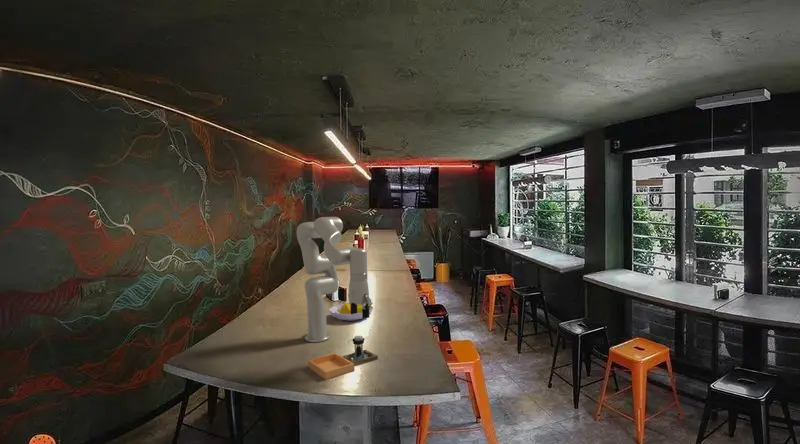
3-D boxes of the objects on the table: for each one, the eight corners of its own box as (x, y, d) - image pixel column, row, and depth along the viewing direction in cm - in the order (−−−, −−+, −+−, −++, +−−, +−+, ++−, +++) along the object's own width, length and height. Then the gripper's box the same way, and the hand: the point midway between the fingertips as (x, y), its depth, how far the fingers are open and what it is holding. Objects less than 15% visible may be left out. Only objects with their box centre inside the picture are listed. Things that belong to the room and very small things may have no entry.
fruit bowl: (321, 318, 238) (320, 299, 238) (357, 309, 256) (357, 292, 256) (346, 328, 217) (346, 308, 217) (384, 318, 235) (384, 299, 235)
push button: (366, 356, 176) (365, 334, 175) (369, 360, 171) (368, 337, 170) (351, 358, 174) (351, 335, 173) (354, 362, 168) (353, 339, 168)
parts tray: (308, 367, 164) (307, 360, 164) (335, 359, 172) (335, 352, 172) (325, 380, 152) (325, 372, 152) (354, 371, 160) (354, 363, 160)
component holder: (342, 359, 172) (342, 356, 172) (365, 352, 180) (365, 349, 180) (354, 366, 165) (354, 362, 164) (377, 359, 172) (377, 355, 172)
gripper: (341, 275, 175) (342, 313, 176) (362, 280, 162) (363, 321, 162) (355, 273, 180) (356, 310, 180) (377, 278, 166) (378, 318, 167)
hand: (359, 315), depth 171 cm, fingers open, 9 cm apart
